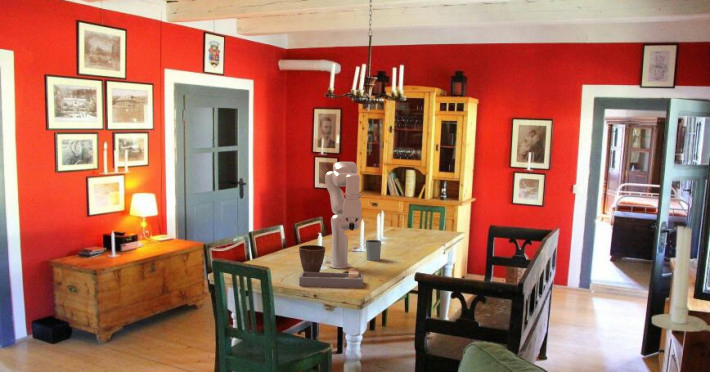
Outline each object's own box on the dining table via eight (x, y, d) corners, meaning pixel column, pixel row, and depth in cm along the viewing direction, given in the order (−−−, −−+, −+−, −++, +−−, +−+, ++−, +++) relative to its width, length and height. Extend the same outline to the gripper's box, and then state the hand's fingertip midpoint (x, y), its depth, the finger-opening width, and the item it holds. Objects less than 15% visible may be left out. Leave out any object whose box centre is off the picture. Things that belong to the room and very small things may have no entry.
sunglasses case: (354, 280, 307) (348, 269, 307) (343, 286, 309) (338, 275, 310) (364, 273, 324) (359, 263, 324) (354, 278, 326) (349, 268, 327)
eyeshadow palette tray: (302, 279, 306) (302, 271, 306) (362, 281, 305) (363, 273, 305) (299, 285, 295) (299, 277, 294) (362, 287, 293) (362, 279, 293)
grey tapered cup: (379, 261, 355) (380, 242, 354) (363, 260, 357) (364, 241, 356) (381, 258, 365) (382, 240, 364) (366, 257, 367) (367, 239, 366)
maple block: (349, 278, 301) (349, 271, 301) (358, 279, 301) (358, 271, 301) (348, 281, 296) (348, 273, 296) (357, 281, 296) (357, 274, 296)
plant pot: (305, 271, 326) (306, 243, 324) (329, 274, 320) (329, 246, 319) (293, 276, 312) (294, 248, 311) (318, 280, 307) (318, 251, 305)
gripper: (366, 196, 311) (365, 229, 312) (339, 195, 311) (338, 228, 313) (365, 198, 303) (365, 231, 305) (338, 197, 304) (337, 231, 306)
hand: (351, 230), depth 309 cm, fingers closed
